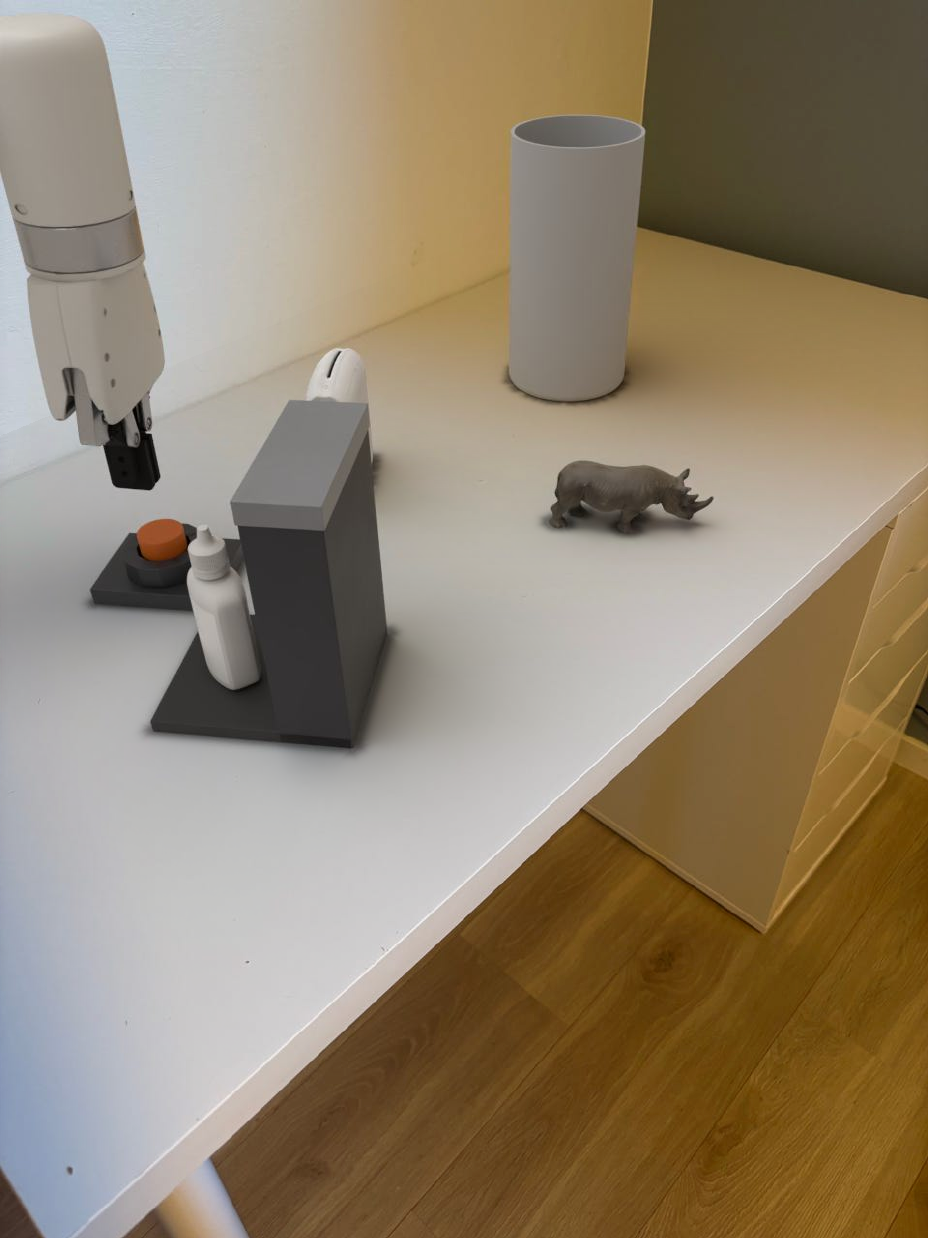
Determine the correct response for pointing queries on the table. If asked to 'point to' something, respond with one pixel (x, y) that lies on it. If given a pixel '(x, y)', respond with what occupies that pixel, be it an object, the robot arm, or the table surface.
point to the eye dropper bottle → (221, 613)
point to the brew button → (162, 539)
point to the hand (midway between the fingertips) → (137, 483)
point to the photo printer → (340, 380)
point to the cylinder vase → (572, 253)
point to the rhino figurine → (621, 492)
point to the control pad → (151, 576)
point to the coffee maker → (299, 589)
